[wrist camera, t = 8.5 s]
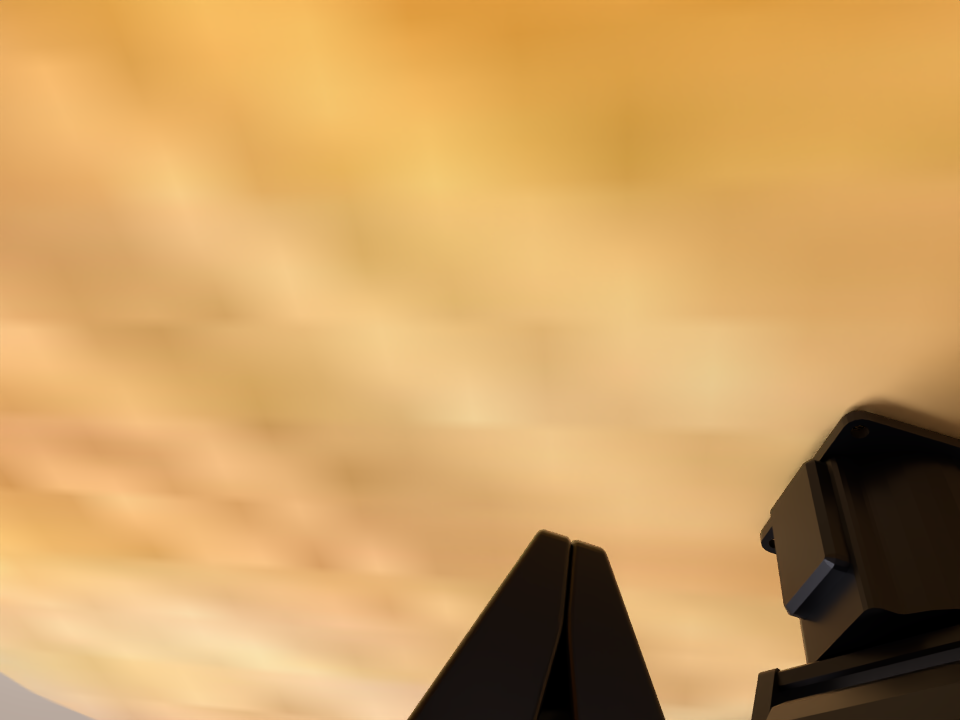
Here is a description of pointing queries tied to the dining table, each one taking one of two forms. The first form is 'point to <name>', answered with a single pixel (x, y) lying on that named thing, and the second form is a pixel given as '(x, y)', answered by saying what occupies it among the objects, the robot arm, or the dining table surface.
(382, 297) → the dining table surface
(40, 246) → the dining table surface
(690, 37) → the dining table surface
